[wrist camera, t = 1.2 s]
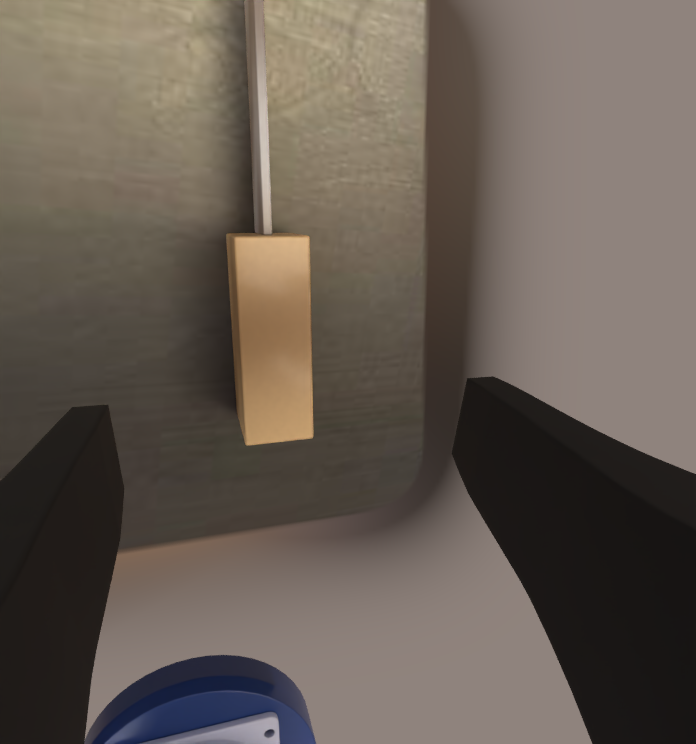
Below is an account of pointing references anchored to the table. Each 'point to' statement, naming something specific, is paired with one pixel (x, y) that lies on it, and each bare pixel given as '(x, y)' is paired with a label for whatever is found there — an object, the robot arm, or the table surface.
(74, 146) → the table surface
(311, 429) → the cake knife
